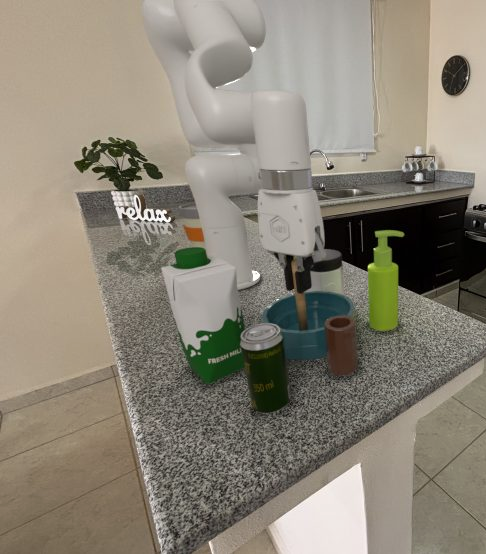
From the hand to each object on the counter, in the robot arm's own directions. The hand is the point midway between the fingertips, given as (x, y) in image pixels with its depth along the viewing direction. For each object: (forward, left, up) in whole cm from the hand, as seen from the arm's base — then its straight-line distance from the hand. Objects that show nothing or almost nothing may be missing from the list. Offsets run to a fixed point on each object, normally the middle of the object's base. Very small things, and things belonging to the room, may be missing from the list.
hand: (299, 288), depth 61 cm
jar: (-7, +16, -12) cm, 21 cm away
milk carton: (-8, -11, -12) cm, 18 cm away
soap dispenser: (+10, +13, -12) cm, 20 cm away
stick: (0, 0, -10) cm, 10 cm away
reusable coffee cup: (-63, +31, -12) cm, 71 cm away
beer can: (+6, -14, -12) cm, 19 cm away
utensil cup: (+10, -3, -11) cm, 16 cm away
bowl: (-1, +3, -11) cm, 12 cm away
